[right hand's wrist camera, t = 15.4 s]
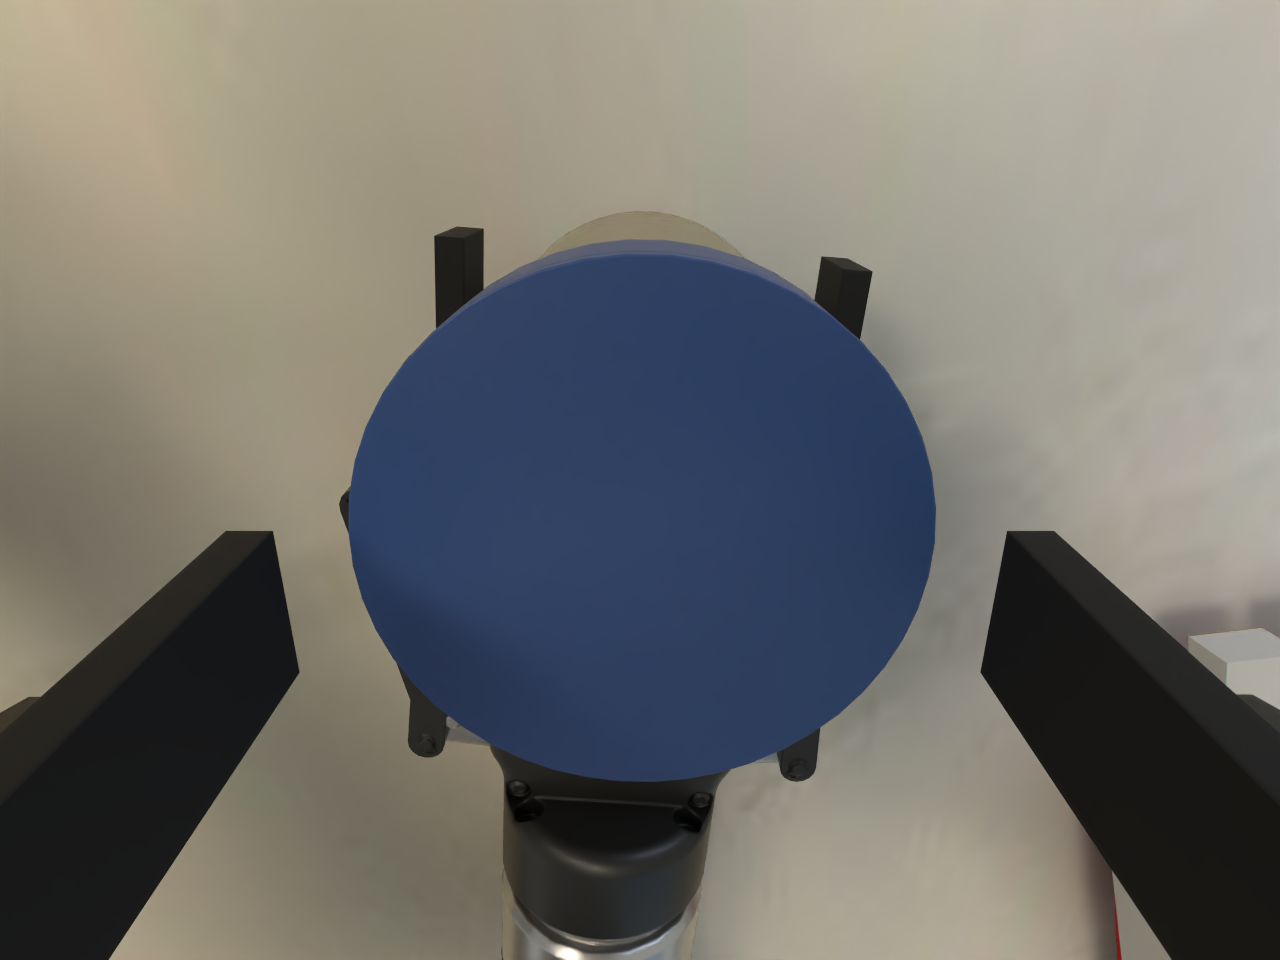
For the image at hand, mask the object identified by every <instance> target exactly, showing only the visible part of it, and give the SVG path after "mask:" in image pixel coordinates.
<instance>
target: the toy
mask: <svg viewBox="0 0 1280 960" xmlns="http://www.w3.org/2000/svg"><path fill="white" fill-rule="evenodd" d="M1188 652H1189V653H1191V654H1192V655H1193V656H1194V657H1195V658H1196V659H1197V660H1198V661H1200V662H1201V663H1202V664H1203V665H1204V666H1205V667H1206V668H1207V669H1208V670H1210V671H1211V672H1212V673H1213V674H1214V675H1215V676H1216V677H1217V678H1218V679H1220V680H1221V681H1222V682H1223V683H1224V684H1225V685H1226V686H1227V687H1229V688H1230V689H1231V690H1232V691H1233V692H1234V693H1235V694H1253V695H1254V696H1256V697H1258V698H1260V699H1261V700H1263V701H1265V702H1267V703H1269V704H1270V705H1272V706H1274V707H1276V708H1278V709H1279V710H1280V638H1278V637H1277V636H1275V635H1273V634H1271V633H1270V632H1268V631H1266V630H1265V629H1263V628H1255V629H1246V630H1238V631H1229V632H1220V633H1212V634H1203V635H1194V636H1188ZM1112 875H1113V884H1114V894H1115V916H1116V939H1117V960H1171V958H1170V957H1169V955H1168V954H1167V952H1166V951H1165V949H1164V948H1163V946H1162V945H1161V943H1160V942H1159V940H1158V939H1157V937H1156V936H1155V934H1154V933H1153V931H1152V930H1151V928H1150V927H1149V925H1148V924H1147V922H1146V921H1145V919H1144V918H1143V916H1142V915H1141V913H1140V912H1139V910H1138V909H1137V907H1136V906H1135V904H1134V903H1133V901H1132V900H1131V898H1130V897H1129V895H1128V894H1127V892H1126V891H1125V889H1124V888H1123V886H1122V885H1121V883H1120V882H1119V880H1118V878H1117V877H1116V875H1115V874H1114V872H1113V871H1112Z"/></svg>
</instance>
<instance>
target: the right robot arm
mask: <svg viewBox="0 0 1280 960" xmlns="http://www.w3.org/2000/svg"><path fill="white" fill-rule="evenodd" d="M298 674H299V667H298V662H297V657H296V651H295V646H294V641H293V636H292V630H291V625H290V620H289V614H288V609H287V604H286V598H285V593H284V588H283V583H282V577H281V572H280V567H279V561H278V556H277V551H276V546H275V540H274V535H273V531H226V532H224V533H223V534H222V535H221V536H220V537H219V538H218V539H217V540H216V541H214V542H213V543H212V544H211V545H210V546H209V547H208V548H207V549H205V550H204V551H203V552H202V553H201V554H200V555H199V556H198V557H197V558H195V559H194V560H193V561H192V562H191V563H190V564H189V565H188V566H186V567H185V568H184V569H183V570H182V571H181V572H180V573H179V574H178V575H176V576H175V577H174V578H173V579H172V580H171V581H170V582H169V583H168V584H166V585H165V586H164V587H163V588H162V589H161V590H160V591H159V592H157V593H156V594H155V595H154V596H153V597H152V598H151V599H150V600H149V601H147V602H146V603H145V604H144V605H143V606H142V607H141V608H140V609H139V610H137V611H136V612H135V613H134V614H133V615H132V616H131V617H130V618H128V619H127V620H126V621H125V622H124V623H123V624H122V625H121V626H120V627H118V628H117V629H116V630H115V631H114V632H113V633H112V634H111V635H109V636H108V637H107V638H106V639H105V640H104V641H103V642H102V643H101V644H99V645H98V646H97V647H96V648H95V649H94V650H93V651H92V652H91V653H89V654H88V655H87V656H86V657H85V658H84V659H83V660H82V661H80V662H79V663H78V664H77V665H76V666H75V667H74V668H73V669H72V670H70V671H69V672H68V673H67V674H66V675H65V676H64V677H63V678H62V679H60V680H59V681H58V682H57V683H56V684H55V685H54V686H53V687H51V688H50V689H49V690H48V691H47V692H46V693H45V694H44V695H43V696H41V697H28V698H26V699H24V700H22V701H21V702H19V703H17V704H15V705H14V706H12V707H10V708H8V709H6V710H5V711H3V712H1V713H0V960H109V958H110V957H111V955H112V954H113V952H114V951H115V949H116V948H117V946H118V945H119V943H120V942H121V940H122V939H123V937H124V936H125V934H126V933H127V931H128V930H129V928H130V927H131V925H132V924H133V922H134V921H135V919H136V918H137V916H138V915H139V913H140V912H141V910H142V909H143V907H144V906H145V904H146V903H147V901H148V900H149V898H150V897H151V895H152V894H153V892H154V891H155V889H156V888H157V886H158V885H159V883H160V882H161V880H162V878H163V877H164V875H165V874H166V872H167V871H168V869H169V868H170V866H171V865H172V863H173V862H174V860H175V859H176V857H177V856H178V854H179V853H180V851H181V850H182V848H183V847H184V845H185V844H186V842H187V841H188V839H189V838H190V836H191V835H192V833H193V832H194V830H195V829H196V827H197V826H198V824H199V823H200V821H201V820H202V818H203V817H204V815H205V814H206V812H207V811H208V809H209V808H210V806H211V805H212V803H213V802H214V800H215V799H216V797H217V796H218V794H219V793H220V791H221V790H222V788H223V787H224V785H225V784H226V782H227V781H228V779H229V778H230V776H231V775H232V773H233V772H234V770H235V769H236V767H237V766H238V764H239V763H240V761H241V760H242V758H243V757H244V755H245V754H246V752H247V751H248V749H249V748H250V746H251V745H252V743H253V742H254V740H255V739H256V737H257V736H258V734H259V733H260V731H261V730H262V728H263V727H264V725H265V724H266V722H267V721H268V719H269V718H270V716H271V715H272V713H273V711H274V710H275V708H276V707H277V705H278V704H279V702H280V701H281V699H282V698H283V696H284V695H285V693H286V692H287V690H288V689H289V687H290V686H291V684H292V683H293V681H294V680H295V678H296V677H297V675H298ZM981 674H982V675H983V677H984V678H985V680H986V681H987V683H988V684H989V686H990V687H991V689H992V690H993V692H994V693H995V695H996V696H997V698H998V699H999V701H1000V702H1001V704H1002V705H1003V707H1004V708H1005V710H1006V712H1007V713H1008V715H1009V716H1010V718H1011V719H1012V721H1013V722H1014V724H1015V725H1016V727H1017V728H1018V730H1019V731H1020V733H1021V734H1022V736H1023V737H1024V739H1025V740H1026V742H1027V743H1028V745H1029V746H1030V748H1031V749H1032V751H1033V752H1034V754H1035V755H1036V757H1037V758H1038V760H1039V761H1040V763H1041V764H1042V766H1043V767H1044V769H1045V770H1046V772H1047V773H1048V775H1049V776H1050V778H1051V779H1052V781H1053V782H1054V784H1055V785H1056V787H1057V788H1058V790H1059V791H1060V793H1061V794H1062V796H1063V797H1064V799H1065V800H1066V802H1067V803H1068V805H1069V806H1070V808H1071V809H1072V811H1073V812H1074V814H1075V815H1076V817H1077V818H1078V820H1079V821H1080V823H1081V824H1082V826H1083V827H1084V829H1085V830H1086V832H1087V833H1088V835H1089V836H1090V838H1091V839H1092V841H1093V842H1094V844H1095V845H1096V847H1097V848H1098V850H1099V851H1100V853H1101V854H1102V856H1103V857H1104V859H1105V860H1106V862H1107V863H1108V865H1109V866H1110V868H1111V869H1112V871H1113V872H1114V874H1115V875H1116V877H1117V878H1118V880H1119V882H1120V883H1121V885H1122V886H1123V888H1124V889H1125V891H1126V892H1127V894H1128V895H1129V897H1130V898H1131V900H1132V901H1133V903H1134V904H1135V906H1136V907H1137V909H1138V910H1139V912H1140V913H1141V915H1142V916H1143V918H1144V919H1145V921H1146V922H1147V924H1148V925H1149V927H1150V928H1151V930H1152V931H1153V933H1154V934H1155V936H1156V937H1157V939H1158V940H1159V942H1160V943H1161V945H1162V946H1163V948H1164V949H1165V951H1166V952H1167V954H1168V955H1169V957H1170V958H1171V960H1280V710H1279V709H1278V708H1276V707H1274V706H1272V705H1270V704H1269V703H1267V702H1265V701H1263V700H1261V699H1260V698H1258V697H1256V696H1254V695H1253V694H1235V693H1234V692H1233V691H1232V690H1231V689H1230V688H1229V687H1227V686H1226V685H1225V684H1224V683H1223V682H1222V681H1221V680H1220V679H1218V678H1217V677H1216V676H1215V675H1214V674H1213V673H1212V672H1211V671H1210V670H1208V669H1207V668H1206V667H1205V666H1204V665H1203V664H1202V663H1201V662H1200V661H1198V660H1197V659H1196V658H1195V657H1194V656H1193V655H1192V654H1191V653H1189V652H1188V651H1187V650H1186V649H1185V648H1184V647H1183V646H1182V645H1181V644H1179V643H1178V642H1177V641H1176V640H1175V639H1174V638H1173V637H1172V636H1171V635H1169V634H1168V633H1167V632H1166V631H1165V630H1164V629H1163V628H1162V627H1160V626H1159V625H1158V624H1157V623H1156V622H1155V621H1154V620H1153V619H1152V618H1150V617H1149V616H1148V615H1147V614H1146V613H1145V612H1144V611H1143V610H1141V609H1140V608H1139V607H1138V606H1137V605H1136V604H1135V603H1134V602H1133V601H1131V600H1130V599H1129V598H1128V597H1127V596H1126V595H1125V594H1124V593H1123V592H1121V591H1120V590H1119V589H1118V588H1117V587H1116V586H1115V585H1114V584H1112V583H1111V582H1110V581H1109V580H1108V579H1107V578H1106V577H1105V576H1104V575H1102V574H1101V573H1100V572H1099V571H1098V570H1097V569H1096V568H1095V567H1093V566H1092V565H1091V564H1090V563H1089V562H1088V561H1087V560H1086V559H1085V558H1083V557H1082V556H1081V555H1080V554H1079V553H1078V552H1077V551H1076V550H1075V549H1073V548H1072V547H1071V546H1070V545H1069V544H1068V543H1067V542H1066V541H1064V540H1063V539H1062V538H1061V537H1060V536H1059V535H1058V534H1057V533H1056V532H1054V531H1007V535H1006V540H1005V546H1004V551H1003V556H1002V561H1001V567H1000V572H999V577H998V583H997V588H996V593H995V598H994V604H993V609H992V614H991V620H990V625H989V630H988V636H987V641H986V646H985V651H984V657H983V662H982V667H981Z"/></svg>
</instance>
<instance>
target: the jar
mask: <svg viewBox="0 0 1280 960" xmlns="http://www.w3.org/2000/svg"><path fill="white" fill-rule="evenodd" d="M627 239H640V240H670V241H676V242H682V243H689V244H695V245H701V246H706V247H709V248H713V249H716V250H719V251H723V252H726V253H729V254H732V255H736V256H739V257H742V256H741V255H740V254H739V253H738V252H737V250H735V249H734V248H733V247H732V246H731V245H730V244H728V243H727V242H726V241H725V240H724V239H723V238H721V237H720V236H718V235H717V234H715V233H713V232H712V231H710V230H709V229H707V228H705V227H703V226H701V225H699V224H697V223H695V222H692V221H690V220H687V219H684V218H681V217H677V216H674V215H670V214H663V213H657V212H627V213H619V214H614V215H610V216H606V217H602V218H599V219H596V220H594V221H591V222H589V223H586V224H584V225H582V226H580V227H578V228H576V229H575V230H573V231H571V232H570V233H568V234H566V235H565V236H564V237H562V238H561V239H560V240H558V241H557V242H556V243H555V244H553V245H552V246H551V247H550V248H549V249H548V250H547V251H546V252H545V253H544V254H543V255H542V256H541V257H540V258H539V259H541V258H544V257H546V256H549V255H551V254H553V253H557V252H561V251H564V250H568V249H572V248H576V247H580V246H584V245H588V244H592V243H601V242H610V241H618V240H627ZM742 258H743V257H742ZM539 259H538V260H539Z"/></svg>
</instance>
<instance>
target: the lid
mask: <svg viewBox="0 0 1280 960" xmlns="http://www.w3.org/2000/svg"><path fill="white" fill-rule="evenodd" d="M935 518H936V504H935V496H934V487H933V479H932V471H931V468H930V464H929V460H928V457H927V453H926V449H925V445H924V442H923V438H922V436H921V433H920V431H919V429H918V426H917V424H916V422H915V420H914V417H913V415H912V413H911V411H910V408H909V406H908V404H907V402H906V400H905V399H904V397H903V396H902V394H901V392H900V391H899V389H898V388H897V386H896V385H895V383H894V381H893V380H892V378H891V377H890V375H889V374H888V372H887V370H886V369H885V368H884V367H883V366H882V365H881V364H880V362H879V361H878V360H877V359H876V358H875V357H874V355H873V354H872V353H871V352H870V351H869V350H868V348H867V347H866V346H865V345H864V344H863V343H862V342H861V340H859V339H858V338H857V337H856V336H855V335H854V334H852V333H851V332H850V331H849V330H848V329H847V328H846V327H844V326H843V325H842V324H841V323H840V322H839V321H837V320H836V319H835V318H834V317H833V316H832V315H830V314H829V313H828V312H827V311H826V310H825V309H824V308H822V307H821V306H820V305H819V304H818V303H817V302H815V301H814V300H813V299H812V298H811V297H810V296H808V295H807V294H806V293H805V292H804V291H802V290H800V289H799V288H797V287H796V286H794V285H793V284H791V283H790V282H788V281H786V280H785V279H783V278H782V277H780V276H779V275H777V274H776V273H774V272H772V271H770V270H768V269H765V268H763V267H761V266H759V265H757V264H755V263H752V262H750V261H748V260H746V259H744V258H742V257H739V256H736V255H732V254H729V253H726V252H723V251H719V250H716V249H713V248H709V247H706V246H701V245H695V244H689V243H682V242H676V241H670V240H640V239H627V240H618V241H610V242H601V243H592V244H588V245H584V246H580V247H576V248H572V249H568V250H564V251H561V252H557V253H553V254H551V255H549V256H546V257H544V258H541V259H539V260H536V261H534V262H532V263H529V264H527V265H524V266H522V267H520V268H518V269H516V270H514V271H513V272H511V273H509V274H508V275H506V276H504V277H502V278H501V279H499V280H497V281H496V282H494V283H492V284H490V285H489V286H488V287H486V288H485V289H484V290H482V291H481V292H480V293H479V294H477V295H476V296H475V297H474V298H472V299H471V300H470V301H469V302H467V303H466V304H465V305H463V306H462V307H461V308H460V309H459V310H457V311H456V312H455V313H454V314H453V315H452V316H451V317H449V318H448V319H447V320H446V321H445V322H444V323H442V324H441V325H440V326H439V327H438V328H437V329H436V330H434V331H433V332H432V333H431V334H430V335H429V336H428V337H427V338H426V340H425V341H424V342H423V343H422V344H421V345H420V346H419V347H418V348H417V349H416V350H415V351H414V352H413V353H412V354H411V355H410V356H409V357H408V359H407V360H406V361H405V362H404V363H403V365H402V366H401V368H400V369H399V370H398V372H397V373H396V375H395V376H394V378H393V379H392V380H391V382H390V383H389V385H388V386H387V388H386V389H385V390H384V392H383V394H382V396H381V398H380V400H379V402H378V404H377V406H376V408H375V410H374V412H373V414H372V416H371V418H370V420H369V422H368V424H367V426H366V428H365V431H364V434H363V438H362V441H361V444H360V447H359V450H358V453H357V456H356V459H355V463H354V469H353V475H352V482H351V488H350V494H349V538H350V546H351V554H352V561H353V567H354V571H355V574H356V578H357V582H358V585H359V589H360V592H361V596H362V599H363V601H364V604H365V606H366V608H367V611H368V613H369V615H370V617H371V620H372V622H373V624H374V627H375V629H376V631H377V632H378V634H379V636H380V637H381V639H382V641H383V642H384V644H385V646H386V647H387V649H388V651H389V652H390V654H391V656H392V657H393V659H394V660H395V661H396V662H397V664H398V665H399V666H400V667H401V669H402V670H403V671H404V673H405V674H406V675H407V676H408V678H409V679H410V680H411V681H412V683H413V684H414V685H415V686H416V687H417V688H418V689H419V690H420V691H421V692H422V693H423V694H424V695H425V696H426V697H427V698H428V699H429V700H430V701H431V702H432V703H433V704H434V705H435V706H437V707H438V708H439V709H440V710H441V711H443V712H444V713H445V714H447V715H448V716H449V717H450V718H452V719H453V720H454V721H456V722H457V723H458V724H460V725H461V726H462V727H463V728H465V729H467V730H468V731H470V732H472V733H473V734H475V735H477V736H478V737H480V738H481V739H483V740H485V741H486V742H488V743H490V744H491V745H493V746H495V747H498V748H500V749H502V750H504V751H506V752H508V753H510V754H513V755H515V756H517V757H519V758H521V759H524V760H527V761H530V762H533V763H536V764H538V765H541V766H544V767H547V768H550V769H553V770H557V771H562V772H566V773H570V774H575V775H579V776H584V777H589V778H598V779H606V780H615V781H642V782H656V781H667V780H679V779H688V778H694V777H699V776H704V775H709V774H715V773H720V772H723V771H726V770H730V769H733V768H736V767H740V766H743V765H746V764H750V763H752V762H755V761H757V760H760V759H762V758H764V757H767V756H769V755H771V754H774V753H776V752H778V751H781V750H783V749H785V748H787V747H788V746H790V745H792V744H794V743H796V742H797V741H799V740H801V739H803V738H804V737H806V736H808V735H810V734H812V733H813V732H814V731H816V730H817V729H819V728H820V727H821V726H823V725H824V724H826V723H827V722H828V721H830V720H831V719H833V718H834V717H835V716H837V715H838V714H839V713H840V712H841V711H843V710H844V709H845V708H846V707H847V706H848V705H849V704H850V703H851V702H852V701H854V700H855V699H856V698H857V697H858V696H859V695H860V694H861V693H862V692H863V691H864V690H865V689H866V688H867V687H868V686H869V684H870V683H871V682H872V681H873V680H874V679H875V677H876V676H877V675H878V674H879V673H880V672H881V671H882V669H883V668H884V667H885V666H886V664H887V663H888V661H889V660H890V658H891V657H892V655H893V654H894V652H895V651H896V649H897V648H898V646H899V645H900V643H901V642H902V640H903V638H904V636H905V634H906V632H907V630H908V628H909V626H910V624H911V622H912V620H913V618H914V616H915V614H916V612H917V610H918V607H919V604H920V601H921V598H922V595H923V592H924V589H925V586H926V583H927V580H928V577H929V571H930V566H931V560H932V555H933V549H934V543H935Z"/></svg>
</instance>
